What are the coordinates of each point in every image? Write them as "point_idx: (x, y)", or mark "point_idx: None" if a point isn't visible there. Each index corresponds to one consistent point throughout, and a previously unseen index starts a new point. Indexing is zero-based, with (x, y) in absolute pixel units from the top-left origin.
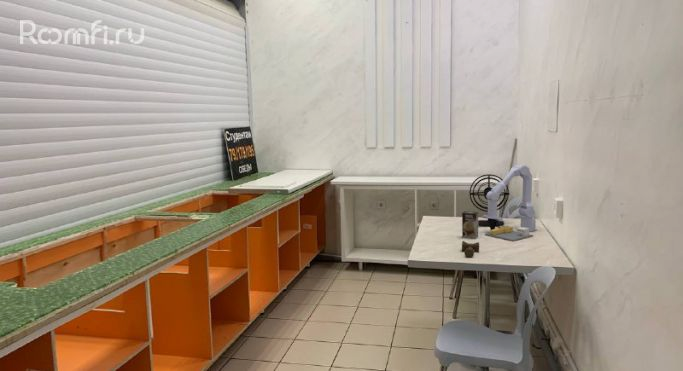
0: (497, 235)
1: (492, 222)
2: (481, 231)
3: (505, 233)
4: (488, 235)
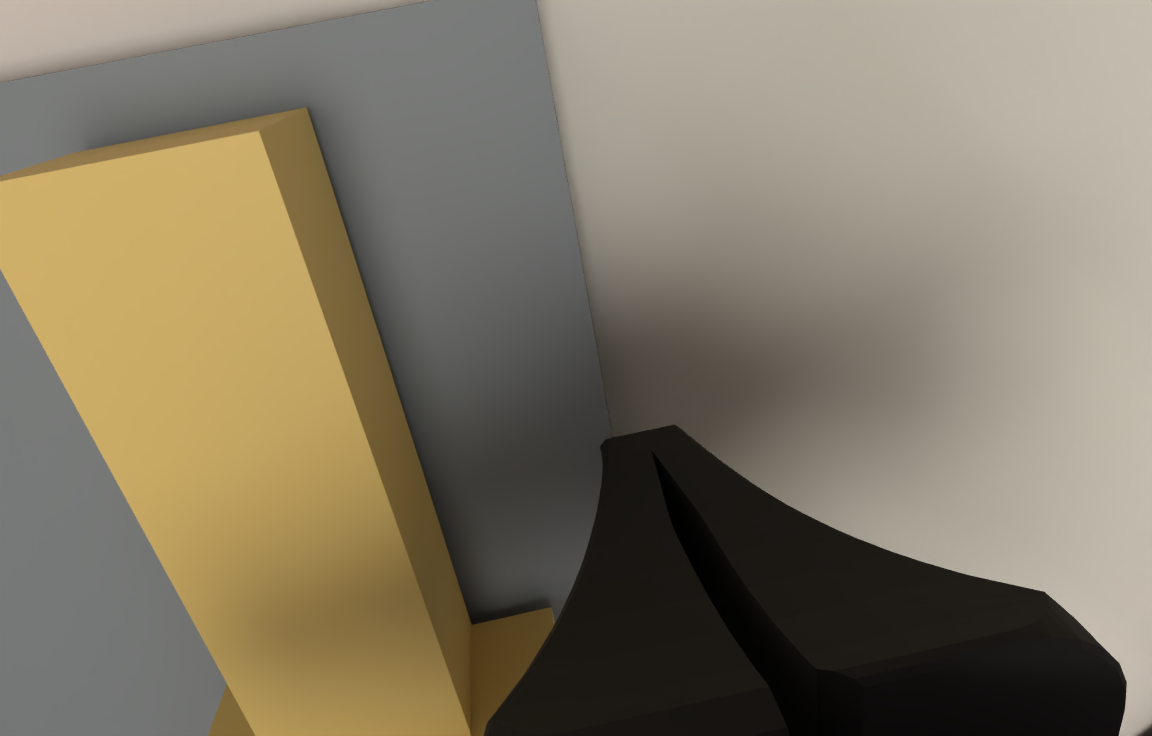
0: None
1: (530, 691)
2: (1039, 300)
3: None
4: (324, 23)
